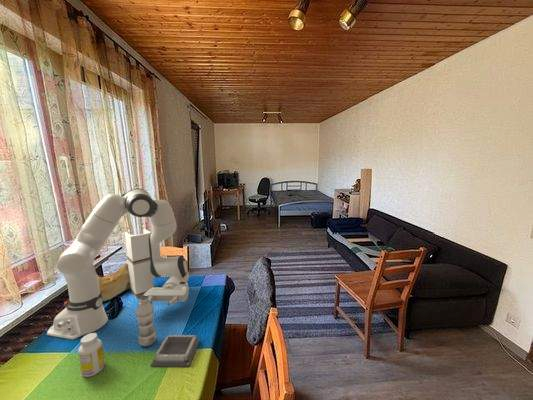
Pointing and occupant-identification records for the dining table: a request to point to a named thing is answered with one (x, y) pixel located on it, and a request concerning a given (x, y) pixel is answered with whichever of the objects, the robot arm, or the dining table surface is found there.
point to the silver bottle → (145, 322)
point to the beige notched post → (139, 263)
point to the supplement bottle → (91, 355)
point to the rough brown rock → (114, 283)
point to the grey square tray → (176, 351)
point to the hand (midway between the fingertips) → (159, 304)
